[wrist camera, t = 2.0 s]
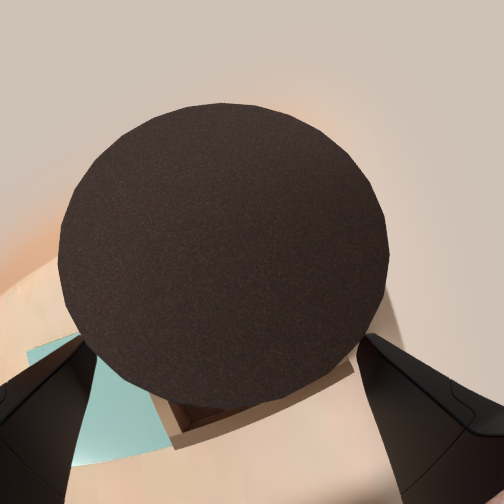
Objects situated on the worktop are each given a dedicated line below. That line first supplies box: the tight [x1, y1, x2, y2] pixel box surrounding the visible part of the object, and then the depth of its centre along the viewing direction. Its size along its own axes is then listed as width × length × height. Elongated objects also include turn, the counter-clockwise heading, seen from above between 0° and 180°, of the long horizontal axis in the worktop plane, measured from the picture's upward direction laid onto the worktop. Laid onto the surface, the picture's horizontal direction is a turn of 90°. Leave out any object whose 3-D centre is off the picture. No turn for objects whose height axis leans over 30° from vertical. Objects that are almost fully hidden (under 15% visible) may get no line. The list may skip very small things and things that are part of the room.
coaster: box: [26, 332, 172, 467], centre depth 16 cm, size 9×9×1 cm
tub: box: [149, 355, 354, 450], centre depth 17 cm, size 11×11×4 cm
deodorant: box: [58, 103, 390, 409], centre depth 12 cm, size 6×6×15 cm
